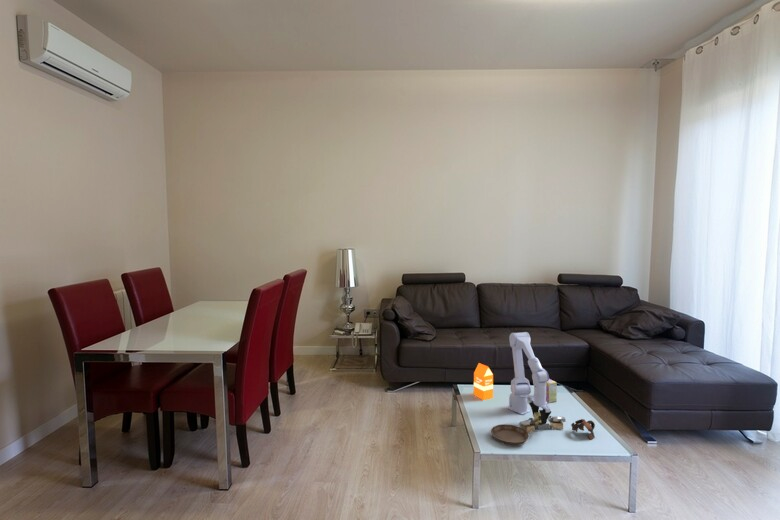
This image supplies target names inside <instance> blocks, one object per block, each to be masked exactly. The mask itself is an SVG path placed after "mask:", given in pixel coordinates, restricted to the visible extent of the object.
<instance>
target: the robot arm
mask: <svg viewBox="0 0 780 520" xmlns="http://www.w3.org/2000/svg"><path fill="white" fill-rule="evenodd" d="M508 337H509V346H510V348H511V349H512V359H513V369H514V370H513V371H514V377H513V379H511V381H510V392H511V393H510V394H509V398H508V408H507V409H509V410H511V411H513V412H515V413H517V414H520V415H526V414H527V413H529V412H532V416H533V417H532V418H534V413H535V412H540V415H541V422H542V424H547V422H548V417H549V416H551V413H552V411H551V408H550V407H549V405H548V403H549V402H547V401H546V382H548V380H549V379H550V376H549V373H548V371H547V370H546V369H545V368H544V367H542V364H541V362H540V360H539V358H538V357H536V356H535V354H534V351H533V348H532V346H531V345H532V344H531V342H532V341H531V339H532V338H531V336H530V334H529V332H527V331H523V332H511V333H510V334H509V336H508ZM523 352H524V354H525V356H526V357H527V359H528V360H527V364H528V366H529V368H530V371H531V373H532V374H531V378H532V384H533V387H534V388H533V389H534V390H533V396H529V395H530V394H531V393H532V386H531V384H530V380H529V379H528V378H526V377H525V367H524V359H523ZM528 397H530V400H529V401H530V402H529V403H528ZM528 405H529V406H530V409H529V408H528ZM540 408H541V409H540Z"/></svg>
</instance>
